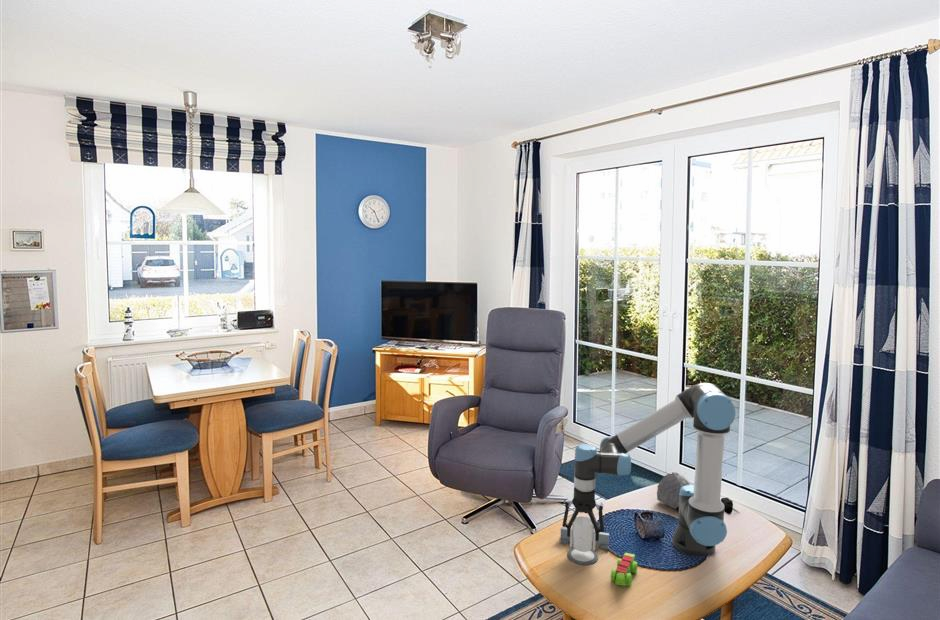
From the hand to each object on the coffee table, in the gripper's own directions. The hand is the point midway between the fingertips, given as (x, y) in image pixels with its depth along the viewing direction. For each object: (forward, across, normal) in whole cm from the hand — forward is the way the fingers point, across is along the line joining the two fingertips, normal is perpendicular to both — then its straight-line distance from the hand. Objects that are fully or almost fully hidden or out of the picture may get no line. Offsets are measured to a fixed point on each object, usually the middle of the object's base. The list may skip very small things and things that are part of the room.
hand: (582, 546), depth 206 cm
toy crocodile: (+4, -15, +8) cm, 18 cm away
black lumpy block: (+4, -57, -53) cm, 78 cm away
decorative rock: (+4, -36, -49) cm, 61 cm away
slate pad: (+4, 0, 0) cm, 4 cm away
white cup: (0, 0, 0) cm, 0 cm away
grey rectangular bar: (+4, 0, -9) cm, 10 cm away
